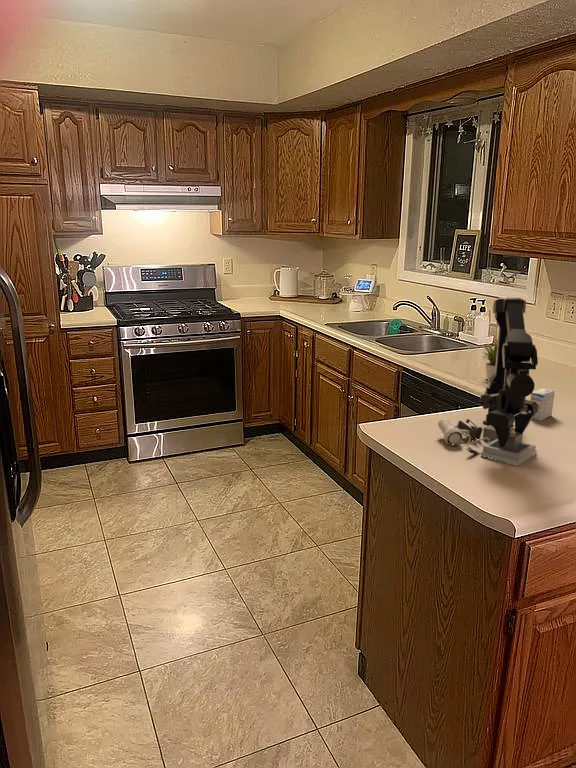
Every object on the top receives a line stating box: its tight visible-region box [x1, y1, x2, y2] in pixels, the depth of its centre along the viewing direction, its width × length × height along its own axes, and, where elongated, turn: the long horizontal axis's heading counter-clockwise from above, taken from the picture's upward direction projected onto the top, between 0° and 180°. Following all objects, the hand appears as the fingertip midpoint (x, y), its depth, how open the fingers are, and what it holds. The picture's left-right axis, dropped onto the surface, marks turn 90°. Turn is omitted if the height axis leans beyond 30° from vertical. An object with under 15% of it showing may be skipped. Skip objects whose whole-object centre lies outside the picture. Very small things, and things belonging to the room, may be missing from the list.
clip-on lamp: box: [437, 418, 491, 455], centre depth 171 cm, size 12×6×18 cm
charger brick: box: [498, 430, 524, 453], centre depth 163 cm, size 4×4×6 cm
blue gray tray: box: [480, 439, 538, 467], centre depth 164 cm, size 12×10×3 cm
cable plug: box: [482, 424, 498, 441], centre depth 175 cm, size 4×7×4 cm, turn 44°
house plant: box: [481, 339, 497, 379], centre depth 240 cm, size 14×14×16 cm
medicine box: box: [529, 387, 555, 422], centre depth 195 cm, size 8×4×9 cm, turn 134°
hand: (509, 442), depth 163 cm, fingers open, 9 cm apart
